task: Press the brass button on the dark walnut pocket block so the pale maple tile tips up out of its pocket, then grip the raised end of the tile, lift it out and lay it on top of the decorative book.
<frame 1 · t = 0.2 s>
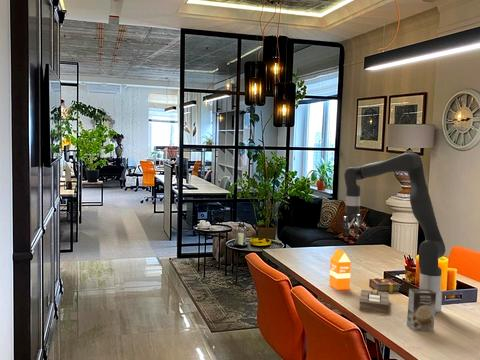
hand: (351, 234, 252), 29 cm above the table, tool pointing down, fingers open, 8 cm apart
decorative book: (387, 290, 253), on the table
coffee box: (420, 328, 199), on the table
button lever: (374, 296, 228), point 3 cm above the table, hinge at 0.0°, touching tile
tile: (374, 302, 225), point 2 cm above the table, touching button lever, pocket block
orange juice: (339, 287, 255), on the table
pocket block: (374, 305, 227), on the table
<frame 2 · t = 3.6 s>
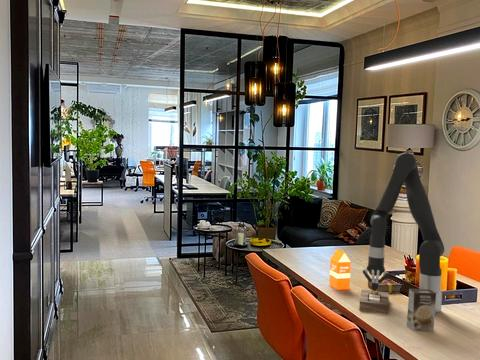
hand: (374, 290, 233), 5 cm above the table, tool pointing down, fingers closed
decorative book: (386, 290, 253), on the table
button lever: (374, 296, 229), point 3 cm above the table, hinge at 4.5°, touching gripper, tile
tile: (374, 301, 225), point 2 cm above the table, touching button lever
everything else where it was.
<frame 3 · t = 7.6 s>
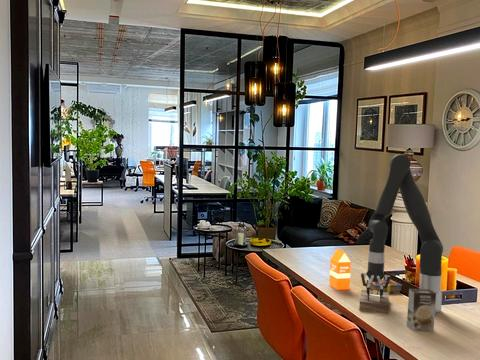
hand: (374, 295, 228), 4 cm above the table, tool pointing down, fingers closed on tile, 5 cm apart
decorative book: (384, 291, 252), on the table
button lever: (374, 296, 229), point 4 cm above the table, hinge at 9.5°, touching tile
tile: (374, 300, 225), point 3 cm above the table, tilted 9°, touching button lever, gripper
everything else where it was.
when the fingers open (9 cm above the table, at t = 14.9 s): tile drops 3 cm, resting on decorative book.
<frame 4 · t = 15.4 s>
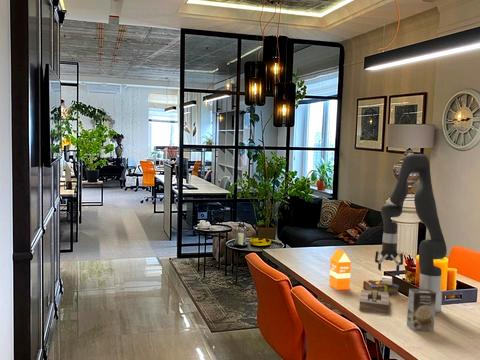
hand: (388, 271, 253), 10 cm above the table, tool pointing down, fingers open, 8 cm apart
decorative book: (381, 292, 250), on the table, touching tile
button lever: (374, 296, 229), point 4 cm above the table, hinge at 9.2°
tile: (386, 282, 250), point 5 cm above the table, touching decorative book
everything else where it was.
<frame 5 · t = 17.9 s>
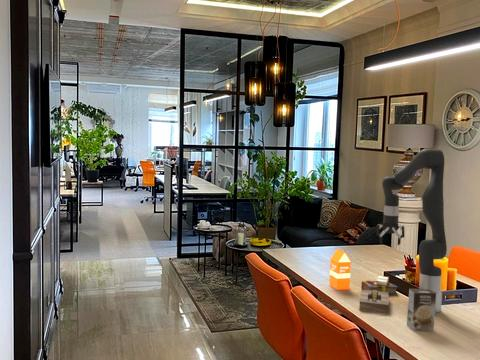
hand: (389, 244, 252), 24 cm above the table, tool pointing down, fingers open, 8 cm apart
decorative book: (379, 292, 249), on the table, touching tile
tile: (382, 282, 249), point 5 cm above the table, touching decorative book
everything else where it was.
at the end: tile inside the target area on the decorative book (1.4 cm from its centre), point 5.2 cm above the decorative book's base; the gripper is holding nothing; button lever at +9° (first picture: +0°) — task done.
